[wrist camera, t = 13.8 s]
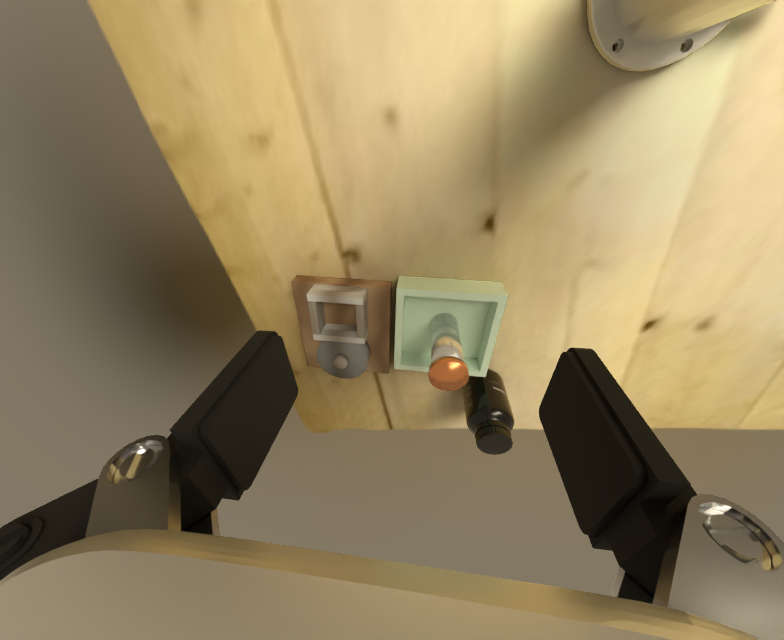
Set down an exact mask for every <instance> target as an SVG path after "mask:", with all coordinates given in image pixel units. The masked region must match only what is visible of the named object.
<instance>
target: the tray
mask: <svg viewBox="0 0 784 640" xmlns="http://www.w3.org/2000/svg"><path fill="white" fill-rule="evenodd" d="M507 299H508V294H507V292H506V290H505V288H504V286H503V284H502V282H494V281H478V280H462V279H446V278H430V277H415V276H399V279H398V284H397V290H396V321H395V351H394V369H400V370H411V371H422V372H429V367H430V365H431V320H432V319H433V317H434V316H436V315H438V314H440V313H449V314H452V315H453V316H454V317H455V318H456V319H457V321H458V327H459V333H460V339H461V346H462V352H463V358H464V362H465V363H466V365H467V367H468V372H469V376H478V377H486V374H487V370H488V367H489V363H490V359H491V356H492V352H493V349H494V345H495V342H496V338H497V335H498V331H499V327H500V324H501V320H502V317H503V313H504V310H505V306H506V303H507Z"/></svg>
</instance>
